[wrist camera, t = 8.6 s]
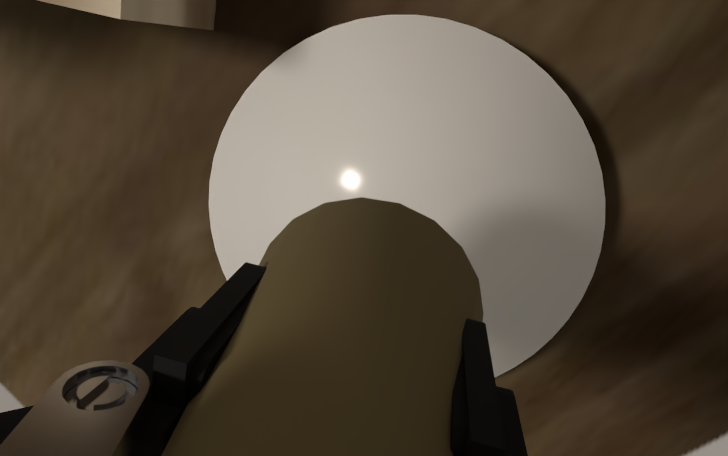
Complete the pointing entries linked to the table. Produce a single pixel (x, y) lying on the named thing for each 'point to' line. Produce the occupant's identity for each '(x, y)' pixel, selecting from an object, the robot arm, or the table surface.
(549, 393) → the table surface
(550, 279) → the plate
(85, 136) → the table surface
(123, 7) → the beech block
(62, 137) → the table surface
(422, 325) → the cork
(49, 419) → the robot arm
